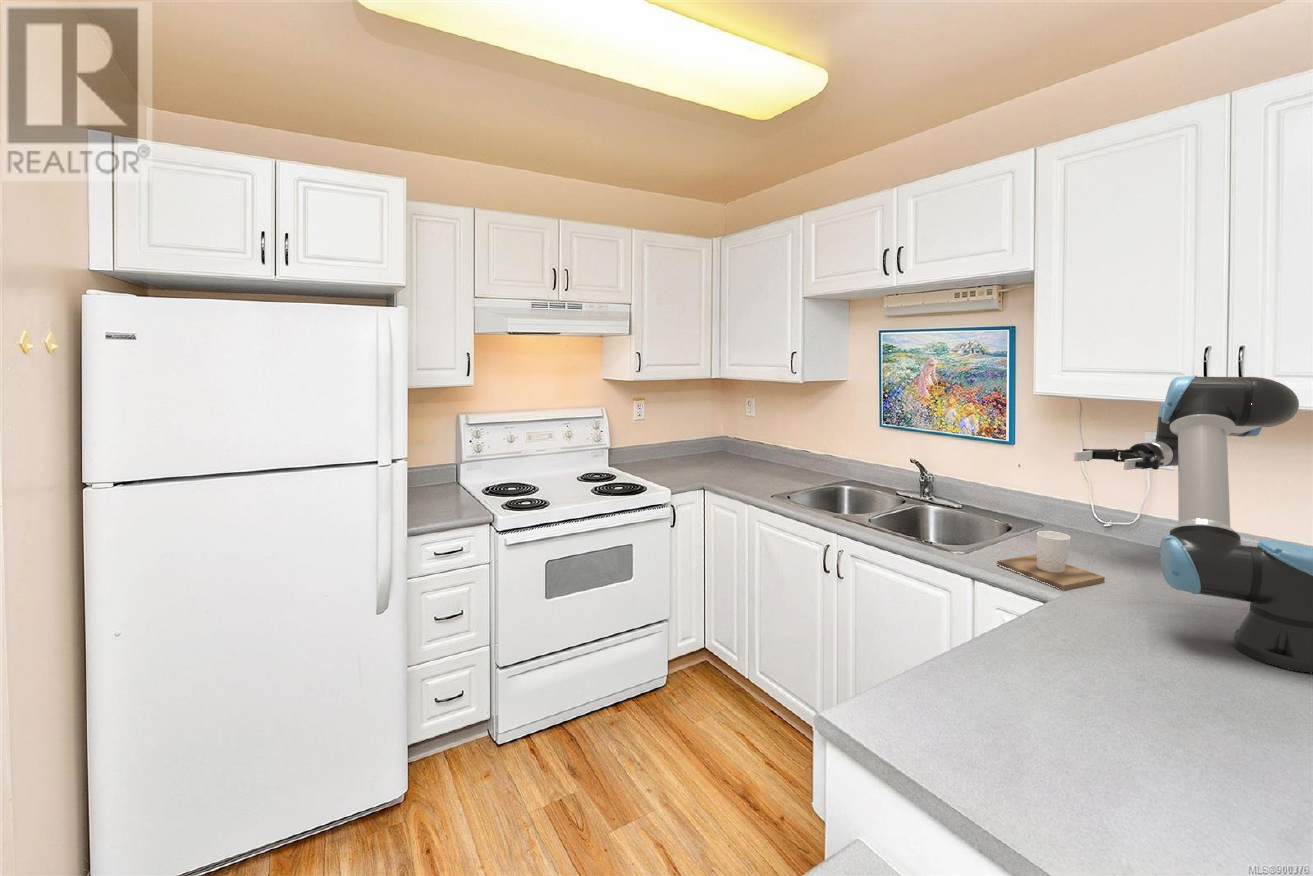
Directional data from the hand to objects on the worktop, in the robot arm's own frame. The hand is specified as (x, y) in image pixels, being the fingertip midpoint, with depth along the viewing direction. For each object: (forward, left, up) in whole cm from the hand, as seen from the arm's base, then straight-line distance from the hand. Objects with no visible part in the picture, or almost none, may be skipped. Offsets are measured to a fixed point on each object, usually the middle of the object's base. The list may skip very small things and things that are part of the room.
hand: (1099, 460), depth 169 cm
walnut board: (-5, +13, -32) cm, 35 cm away
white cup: (-5, +13, -31) cm, 34 cm away
